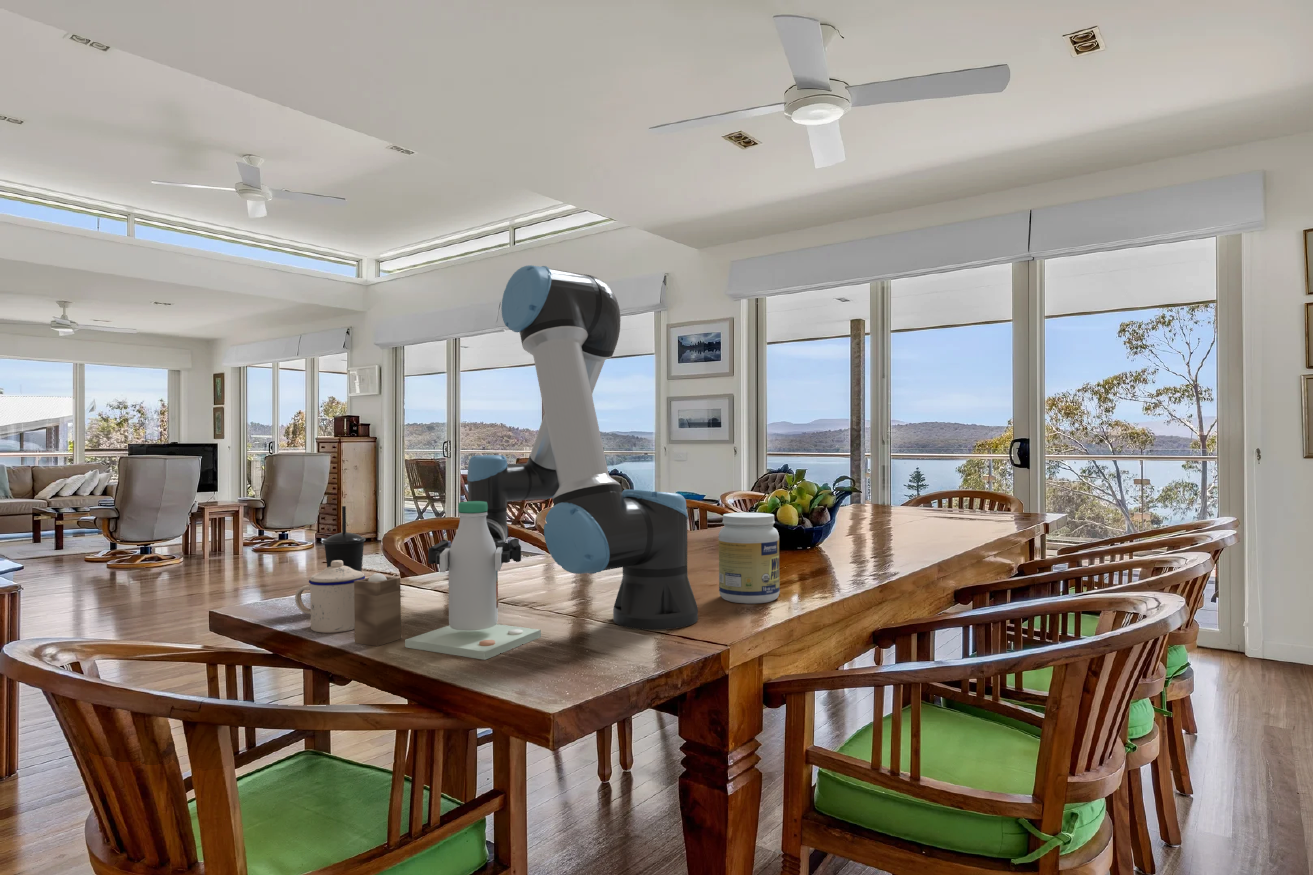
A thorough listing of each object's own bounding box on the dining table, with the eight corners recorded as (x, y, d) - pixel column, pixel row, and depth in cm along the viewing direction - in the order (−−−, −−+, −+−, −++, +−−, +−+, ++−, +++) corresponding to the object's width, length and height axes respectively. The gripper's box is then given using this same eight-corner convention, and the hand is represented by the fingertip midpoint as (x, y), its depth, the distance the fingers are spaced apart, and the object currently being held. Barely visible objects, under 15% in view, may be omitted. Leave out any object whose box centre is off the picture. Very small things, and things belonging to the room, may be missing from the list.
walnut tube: (400, 638, 123) (400, 577, 123) (377, 646, 119) (376, 583, 119) (378, 635, 126) (378, 575, 126) (354, 642, 121) (354, 580, 121)
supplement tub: (771, 607, 143) (770, 518, 143) (710, 602, 148) (709, 516, 148) (786, 594, 155) (785, 512, 155) (729, 590, 159) (728, 510, 159)
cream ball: (391, 590, 123) (391, 572, 123) (376, 594, 120) (376, 575, 120) (378, 589, 124) (377, 571, 124) (363, 592, 122) (363, 574, 122)
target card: (541, 637, 123) (540, 627, 123) (485, 659, 111) (485, 649, 111) (465, 626, 131) (465, 618, 131) (405, 647, 118) (405, 637, 118)
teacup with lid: (374, 620, 136) (373, 556, 136) (351, 633, 127) (350, 565, 127) (309, 620, 137) (308, 556, 137) (282, 633, 127) (281, 565, 128)
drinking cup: (331, 605, 149) (329, 504, 149) (370, 604, 150) (369, 504, 150) (318, 614, 141) (316, 508, 141) (360, 613, 142) (358, 507, 142)
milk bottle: (495, 631, 118) (494, 504, 117) (444, 632, 117) (443, 504, 117) (500, 618, 125) (499, 499, 125) (453, 620, 125) (452, 499, 124)
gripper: (539, 560, 140) (537, 584, 118) (426, 563, 137) (401, 589, 115) (539, 520, 140) (536, 537, 118) (425, 522, 137) (401, 540, 115)
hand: (470, 562), depth 116 cm, fingers closed on milk bottle, 8 cm apart
